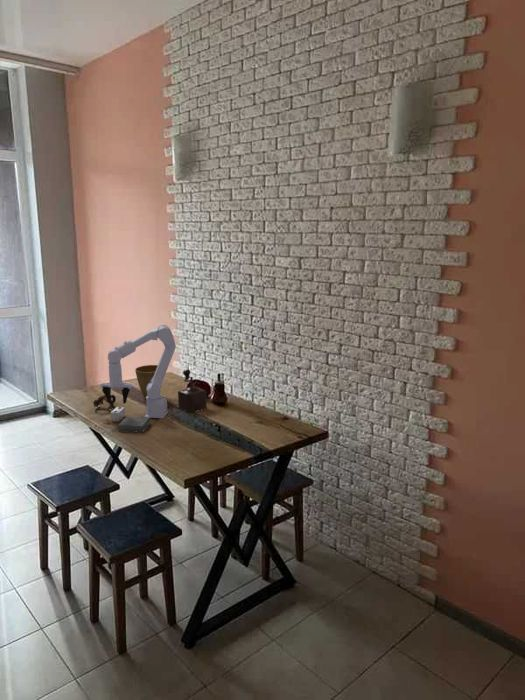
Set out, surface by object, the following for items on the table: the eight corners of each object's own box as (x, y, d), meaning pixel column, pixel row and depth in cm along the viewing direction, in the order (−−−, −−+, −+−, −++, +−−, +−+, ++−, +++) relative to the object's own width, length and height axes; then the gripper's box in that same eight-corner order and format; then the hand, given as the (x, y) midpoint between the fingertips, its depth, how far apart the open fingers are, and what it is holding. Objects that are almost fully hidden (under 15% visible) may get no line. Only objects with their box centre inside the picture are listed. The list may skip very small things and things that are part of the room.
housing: (117, 415, 261) (116, 406, 260) (125, 416, 261) (124, 406, 260) (111, 421, 254) (110, 412, 253) (119, 421, 253) (118, 412, 252)
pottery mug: (107, 414, 265) (97, 400, 263) (96, 418, 270) (87, 405, 269) (123, 401, 274) (114, 388, 272) (113, 406, 280) (104, 393, 278)
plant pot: (135, 394, 294) (134, 366, 291) (163, 392, 299) (161, 364, 295) (137, 402, 280) (136, 372, 277) (166, 399, 285) (165, 370, 281)
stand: (150, 423, 250) (149, 417, 249) (142, 432, 239) (141, 426, 239) (127, 422, 251) (126, 416, 250) (118, 431, 240) (118, 425, 240)
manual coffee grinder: (208, 407, 272) (207, 373, 268) (191, 413, 264) (190, 377, 260) (188, 401, 282) (187, 368, 278) (171, 406, 274) (170, 372, 270)
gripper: (97, 376, 249) (99, 404, 252) (127, 377, 248) (128, 405, 251) (103, 372, 256) (105, 400, 259) (132, 373, 255) (134, 401, 258)
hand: (117, 402), depth 255 cm, fingers open, 7 cm apart
